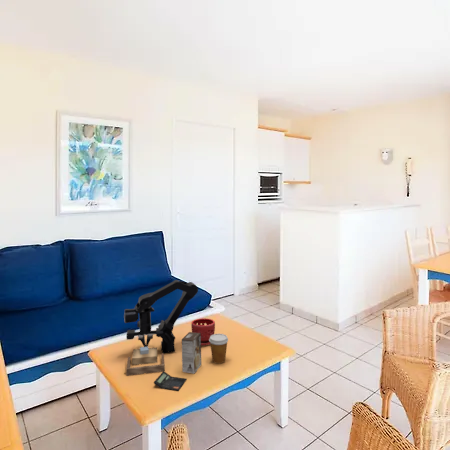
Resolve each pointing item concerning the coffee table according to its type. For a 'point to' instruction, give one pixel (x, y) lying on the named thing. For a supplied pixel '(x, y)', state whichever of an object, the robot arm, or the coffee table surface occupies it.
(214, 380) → the coffee table surface
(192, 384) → the coffee table surface
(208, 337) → the plant pot
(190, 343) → the coffee box
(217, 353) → the disposable coffee cup
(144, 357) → the beige rectangular block
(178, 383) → the calculator
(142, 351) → the light blue square block
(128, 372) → the dock bay
